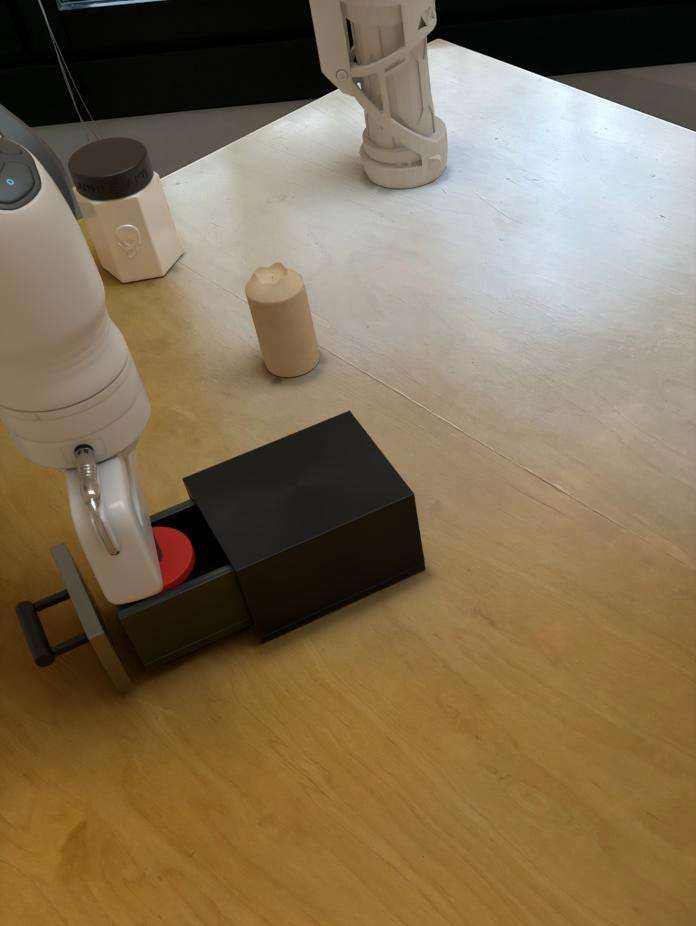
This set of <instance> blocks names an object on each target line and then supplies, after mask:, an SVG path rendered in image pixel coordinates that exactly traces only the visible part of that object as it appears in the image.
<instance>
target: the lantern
mask: <svg viewBox="0 0 696 926" xmlns="http://www.w3.org/2000/svg"><path fill="white" fill-rule="evenodd" d="M308 1H309V7H310V13H311V18H312V24H313V30H314V36H315V41H316V47H317V53H318V58H319V64H320V70H321V73H322V74H323V75H324V76H325V77H326V78H327V79H328V80H329V81H330V82H331V83H332V84H333V85H334V86H335V87H336V88H337V89H338V90H339V91H340V92H341V93H342V94H344V95H348V96H351V97H352V98H354V99H355V100H356V102H357V103H358V104H359V105H360V107H361V108H362V109H363V115H364V123H365V128H364V129H363V131H362V135H361V137H362V143H361V145H360V147H359V156H360V160H361V163H362V168H363V169H364V171H365V173H366V176H367V177H368V179H369V180H370V181H371V182H372V183H374V184H375V185H378V186H380V187H383V188H387V189H397V190H401V189H402V190H403V189H412V188H417V187H422V186H425V185H427V184H430V183H431V182H433V181H435V180H437V179H438V178H439V177H440V176H441V175H442V174H443V173H444V172H445V169H446V167H447V161H448V148H449V142H448V132H447V125H446V122H444V120H442V119H441V118H440V117H438V116H437V115H436V114H435V108H434V107H435V106H434V102H433V96H432V88H431V79H430V78H431V77H430V68H429V57H428V35H430V34H431V32H432V31H433V30H434V29H435V27H436V25H437V12H436V0H308ZM347 20H348V21H349V23H350V29H351V36H352V42H353V45H352V47H351V44H350V37H349V32H348V24H347ZM355 58H356V62H354V60H355Z"/></svg>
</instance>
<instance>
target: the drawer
mask: <svg viewBox="0 0 696 926" xmlns="http://www.w3.org/2000/svg"><path fill="white" fill-rule="evenodd" d="M149 517H150V522H151V526H152V527H168V528H172V529H175V530H178V531H180V532H181V533H183V534H184V535H185V536H186V537H187V538H188V539H189V540H190V542H191V544H192V547H193V549H194V552H195V563H194V567H193V569H192V571H191V573H190V575H189V576H188V577H187V578H186V580H185V581H184V582H183V583H181V584H180V585H179V586H177V587H175V588H172V589H170V590H168V591H166V592H163V593H161V594H159V595H156V596H154V597H152V598H147V599H141V600H138V601H134V602H130V603H125V604H120V605H116V604H115V606H116V608H117V611H118V612H116V615H117V617H118V618H119V621H120V623H121V624H122V627H123V629H124V630H125V632H126V634H127V637H128V638H129V640H130V642H131V644H132V645H133V647H134V650H135V651H136V654H137V655H138V657H139V659H140V661H141V663H142V665H143V667H144V669H145V670H146V672H149V671H151V670H153V669H156V668H158V667H160V666H163V665H164V664H167V663H169V662H171V661H174V660H176V659H177V658H180V657H182V656H184V655H187V654H189V653H191V652H194V651H195V650H198V649H199V648H203V647H204V646H206V645H209V644H211V643H213V642H216V641H218V640H220V639H222V638H224V637H226V636H229V635H231V634H233V633H235V632H238V631H239V630H242V629H244V628H247V627H249V626H252V625H251V624H253V622H252V619H251V616H250V613H249V611H248V608H247V605H246V602H245V600H244V597H243V594H242V592H241V589H240V586H239V583H238V581H237V578H236V575H235V572H234V571H233V569H232V567H231V565H230V564H229V562H228V560H227V558H226V557H225V555H224V553H223V551H222V550H221V548H220V546H219V544H218V543H217V541H216V539H215V538H214V536H213V534H212V532H211V531H210V529H209V527H208V525H207V524H206V522H205V520H204V518H203V517H202V515H201V513H200V511H199V510H198V508H197V506H196V504H195V503H194V501H193V499H190V498H189V499H187V500H185V501H182V502H180V503H178V504H177V503H176V504H175V505H172V506H170V507H168V508H166V509H163V510H161V511H158V512H156V513H153V514H151V515H149ZM49 551H50V553H51V556H52V559H53V561H54V563H55V565H56V567H57V570H58V572H59V574H60V577H61V579H62V581H63V584H64V586H65V589H62V590H59V591H58V592H55V593H53V594H50V595H48V596H46V597H43V598H42V599H39V600H36V601H34V602H32V601H30V600H22V601H20V602H18V603H17V604H16V605H15V607H14V612H15V615H16V617H17V619H18V621H19V625H20V627H21V630H22V633H23V635H24V638H25V640H26V643H27V646H28V648H29V651H30V654H31V657H32V658H33V661H34V664H35V666H37V667H39V668H48V667H50V666H51V665H53V664H54V663H55V661H56V657H59V656H61V655H63V654H65V653H68V652H71V651H73V650H75V649H77V648H79V647H82V646H84V645H86V644H88V643H90V645H91V647H92V648H93V650H94V652H95V654H96V655H97V657H98V660H99V661H100V662H101V665H102V666H103V667H104V669H105V671H106V673H107V675H108V676H109V678H110V680H111V682H112V683H113V686H114V687H115V689H116V691H117V692H118V694H119V695H121V694H123V693H125V692H127V691H130V690H132V689H134V688H135V684H134V683H133V681H132V678H131V676H130V674H129V672H128V670H127V667H126V665H125V662H124V660H123V659H122V657H121V656H122V655H121V654H120V652H119V649H118V646H117V644H116V643H115V640H114V637H113V636H112V634H111V632H110V629H109V627H108V625H107V623H106V620H105V618H104V616H103V614H102V611H101V609H100V607H99V604H98V602H97V600H96V598H95V596H94V594H93V593H92V591H91V589H90V587H89V585H88V583H87V581H86V580H85V578H84V576H83V574H82V572H81V569H80V568H79V566H78V565H77V563H76V561H75V559H74V556H73V555H72V554H71V551H70V550H69V548H68V546H67V544H66V542H61V543H59V544H56V545H54V546H51V547H50V548H49ZM68 600H71V603H72V605H73V607H74V609H75V612H76V614H77V617H78V619H79V621H80V624H81V626H82V628H83V631H84V632H82V633H80V634H77V635H75V636H72V637H70V638H68V639H66V640H64V641H61V642H59V643H56V644H54V645H52V646H51V644H50V641H49V639H48V636H47V634H46V630H45V629H44V626H43V624H42V621H41V618H40V616H39V613H40V612H42V611H44V610H47V609H49V608H51V607H54V606H56V605H58V604H61V603H64V602H66V601H68Z"/></svg>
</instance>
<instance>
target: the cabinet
mask: <svg viewBox="0 0 696 926" xmlns="http://www.w3.org/2000/svg"><path fill="white" fill-rule="evenodd" d="M181 480H182V483H183V485H184V487H185V490H186V492H187V495H188V498H189V499H193V501H194V503H195V504H196V506H197V508H198V510H199V511H200V513H201V515H202V517H203V518H204V520H205V522H206V524H207V525H208V527H209V529H210V531H211V532H212V534H213V536H214V538H215V539H216V541H217V543H218V544H219V546H220V548H221V550H222V551H223V553H224V555H225V557H226V558H227V560H228V562H229V564H230V565H231V567H232V569H233V571H234V572H235V575H236V578H237V581H238V583H239V586H240V589H241V592H242V594H243V597H244V600H245V602H246V605H247V608H248V611H249V613H250V616H251V619H252V622H253V624H251V625H250V626H251V627H252V630H253V631H254V633H255V634H256V636H257V638H258V639H259V641H260V643H261V644H265V643H268V642H269V641H272V640H274V639H276V638H278V637H281V636H283V635H285V634H287V633H290V632H292V631H294V630H296V629H298V628H300V627H303V626H305V625H307V624H309V623H311V622H314V621H315V620H318V619H320V618H323V617H324V616H326V615H328V614H331V613H334V612H335V611H338V610H339V609H342V608H344V607H346V606H348V605H350V604H353V603H355V602H357V601H359V600H361V599H363V598H366V597H368V596H370V595H372V594H374V593H377V592H379V591H381V590H383V589H385V588H388V587H390V586H392V585H394V584H396V583H398V582H401V581H404V580H405V579H408V578H409V577H411V576H414V575H416V574H418V573H420V572H422V571H424V570H426V563H425V556H424V547H423V542H422V536H421V530H420V523H419V517H418V510H417V509H418V508H417V503H416V497H415V496H416V495H415V493H414V492H413V490H412V489H411V488H410V486H409V485H408V484H407V482H406V481H405V480H404V478H403V477H402V475H400V473H399V472H398V471H397V469H396V468H395V467H394V465H393V464H392V463H391V462H390V460H389V459H388V458H387V456H386V455H385V454H384V453H383V451H382V450H381V449H380V448H379V446H378V445H377V444H376V442H375V441H374V440H373V438H372V437H371V436H370V435H369V433H368V432H367V430H366V429H365V428H364V427H363V425H362V424H361V423H360V422H359V420H358V419H357V418H356V417H355V415H354V414H353V413H352V411H351V410H347V411H344V412H342V413H340V414H337V415H335V416H332V417H330V418H327V419H324V420H321V421H319V422H317V423H315V424H312V425H310V426H307V427H305V428H303V429H300V430H297V431H295V432H293V433H290V434H287V435H285V436H283V437H281V438H278V439H275V440H273V441H271V442H269V443H268V442H267V443H266V444H263V445H260V446H259V447H256V448H254V449H251V450H249V451H246V452H244V453H241V454H239V455H237V456H233V457H231V458H229V459H226V460H224V461H221V462H219V463H216V464H214V465H212V466H209V467H207V468H204V469H202V470H199V471H197V472H195V473H192V474H189V475H187V476H185V477H182V478H181Z"/></svg>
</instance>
